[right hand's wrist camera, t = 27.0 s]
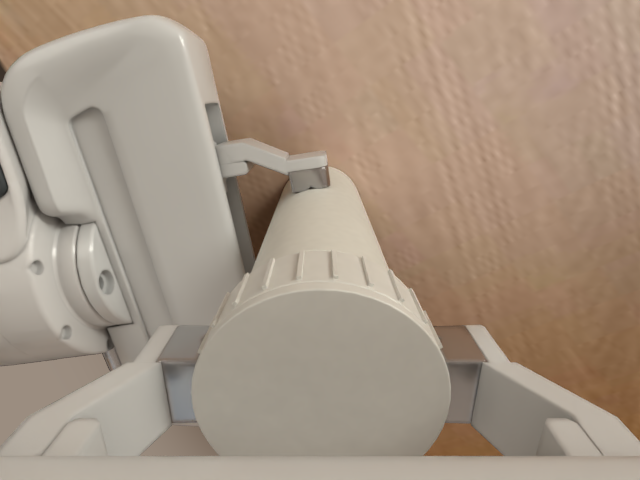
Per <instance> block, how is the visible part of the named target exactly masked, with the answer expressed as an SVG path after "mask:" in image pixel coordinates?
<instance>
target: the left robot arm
mask: <svg viewBox="0 0 640 480" xmlns="http://www.w3.org/2000/svg"><path fill="white" fill-rule="evenodd" d="M255 164H257V165H260V166H263V167H265V168H268V169H271V170H274V171H277V172H279V173H282V174H285V175H289V178H290V183H291V188H292V193H295V192H302V191H307V190H308V189H309V188H310V187H313V188H315V189H322V188H326V187H329V186H330V176H329V169H328V162H327V155H326V151H315V152H309V153H302V154H295V155H289V153H288V152H285V151H283V150H280V149H278V148H275V147H273V146H270V145H268V144H265V143H263V142H260V141H258V140H255V139H253V138H245V139H239V140H232V141H228V137H227V133H226V128H225V124H224V120H223V115H222V111H221V106H220V102H219V98H218V93H217V89H216V85H215V80H214V76H213V72H212V67H211V63H210V58H209V54H208V50H207V46H206V44H205V42H204V41H203V40H202V39H201V38H200V37H199V36H197V35H196V34H195V33H193V32H192V31H191V30H189V29H188V28H187V27H185V26H183V25H182V24H180V23H178V22H177V21H175V20H172V19H170V18H167V17H163V16H158V15H145V16H139V17H133V18H128V19H124V20H119V21H115V22H111V23H107V24H103V25H99V26H96V27H92V28H89V29H86V30H82V31H79V32H76V33H73V34H70V35H67V36H64V37H61V38H59V39H56V40H53V41H51V42H48V43H45V44H43V45H40V46H38V47H36V48H34V49H32V50H30V51H28V52H27V53H25V54H23V55H22V56H21V57H19V58H18V59H17V60H16V61H15V62H14V63H13V64H12V65H11V66H10V68H9V69H8V71H7V73H6V75H5V77H4V80H3V82H0V366H8V365H17V364H25V363H33V362H41V361H48V360H56V359H62V358H70V357H78V356H86V355H94V354H101V353H102V354H103V357H104V359H105V361H106V364H107V366H108V368H109V370H110V371H112V370H114V369H116V368H118V367H120V366H121V365H123V364H125V363H127V362H134V360H135V359H136V357H137V356H138V355H139V353H140V352H141V350H142V349H143V347H144V346H145V345H146V343H147V342H148V340H149V339H150V338H151V336H152V335H153V333H154V332H155V331H156V329H157V328H158V327H159V326H161V325H202V326H210V324H211V322H212V320H213V318H214V316H215V315H216V314H217V311H218V309H219V307H220V305H221V303H222V301H223V299H224V297H225V295H226V293H227V292H229V293H231V292H232V290H233V289H234V288H235V287H236V286H237V284H238V283H239V282H241V281H242V279H243V277H244V275H245V274H246V273H247V272H248V273H249V274H250V273H251V272H252V269H253V266H254V264H255V261H256V259H255V255H254V250H253V246H252V242H251V237H250V233H249V229H248V224H247V220H246V216H245V211H244V207H243V202H242V198H241V194H240V189H239V185H238V181H237V176H240V175H246V174H247V173H248V172H249V171H250V170H251V169H252V168H253V167H254V165H255ZM172 425H179V426H199V425H198V423H172Z"/></svg>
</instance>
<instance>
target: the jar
mask: <svg viewBox="0 0 640 480" xmlns="http://www.w3.org/2000/svg"><path fill="white" fill-rule="evenodd" d="M328 169H329V176H330V186H329V187H326V188H322V189H315V188H313V187H310V188H309V189H308V190H307V191H302V192H295V193H292V188H291V183H290V179H289V181H288V182H287V183H286V185H285V187H284V189H283V192H282V194H281V197H280V199H279V202H278V205H277V207H276V210H275V212H274V215H273V217H272V220H271V223H270V225H269V228H268V230H267V233H266V235H265V238H264V241H263V243H262V246H261V248H260V251H259V253H258V256H257V259H256V261H255V264H254V266H253V269H252V272H253V271H254V270H256V269H257V268H259V267H260V266H262V265H264V264H266V263H268V262H269V261H270V259H272V258H274V259H278V258H280V257H283V256H286V255H290V254H295V253H300V250H304V252H307V251H331V250H332V249H335V250H336V252H342V253H348V254H352V255H355V256H359V257H362V256H365V257H367V260H369V261H372V262H374V263H376V264H378V265H380V266H381V267H383V268H385V269H386V270H389V268H388V266H387V263H386V261H385V258H384V256H383V253H382V251H381V248H380V246H379V243H378V241H377V238H376V236H375V233H374V231H373V228H372V226H371V223H370V221H369V218H368V216H367V213H366V211H365V208H364V206H363V203H362V201H361V198H360V196H359V193H358V191H357V188H356V186H355V185H354V183H353V182H352V180H351V179H350V178H349V177H348V176H347V175H346V174H344V173H343V172H342V171H340V170H338V169H336V168H333V167H329V166H328Z"/></svg>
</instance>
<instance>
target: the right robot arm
mask: <svg viewBox="0 0 640 480" xmlns="http://www.w3.org/2000/svg"><path fill="white" fill-rule="evenodd" d="M209 327H210V326H202V325H161V326H159V327H158V328H157V329H156V331H155V332H154V333H153V335H152V336H151V338H150V339H149V340H148V342H147V343H146V345H145V346H144V347H143V349H142V350H141V352H140V353H139V355H138V356H137V357H136V359H135V360H134V362H127V363H125V364H123V365H121V366H120V367H118V368H116V369H114V370H112V371H110V372H109V373H107V374H105V375H103V376H101V377H99V378H98V379H96V380H94V381H92V382H90V383H88V384H87V385H85V386H83V387H81V388H79V389H77V390H75V391H74V392H72V393H70V394H68V395H66V396H64V397H63V398H61V399H59V400H57V401H55V402H53V403H52V404H50V405H48V406H46V407H44V408H42V409H41V410H39V411H37V412H35V413H33V414H31V415H30V416H28V417H27V418H26V419H25V420H24V421H23V422H22V423H21V424H20V425H19V427H18V428H17V429H16V430H15V431H14V432H13V433H12V434H11V435H10V436H9V438H8V439H7V440H6V441H5V442H4V443H3V444H2V445H1V446H0V480H640V441H639V440H638V439H637V438H636V437H635V436H634V435H633V434H632V433H631V432H630V430H629V429H628V428H627V427H626V426H625V425H624V424H623V423H622V422H621V421H620V420H619V418H618V417H616V416H614V415H612V414H611V413H609V412H607V411H605V410H603V409H601V408H599V407H598V406H596V405H594V404H592V403H590V402H588V401H587V400H585V399H583V398H581V397H579V396H577V395H576V394H574V393H572V392H570V391H568V390H566V389H564V388H563V387H561V386H559V385H557V384H555V383H553V382H552V381H550V380H548V379H546V378H544V377H542V376H540V375H539V374H537V373H535V372H533V371H531V370H529V369H528V368H526V367H524V366H522V365H520V364H518V363H516V362H510V361H509V360H508V358H507V357H506V356H505V354H504V353H503V352H502V350H501V349H500V347H499V346H498V345H497V343H496V342H495V341H494V339H493V338H492V336H491V335H490V334H489V332H488V331H487V330H486V328H485V327H484V326H482V325H462V326H433V327H434V329H435V332H436V334H437V336H438V338H439V340H440V342H441V344H442V346H443V348H441V349H440V351H441V353H442V355H443V357H444V359H445V362H446V365H447V368H448V371H449V376H450V384H451V400H450V406H449V411H448V415H447V418H446V421H445V423H471V425H472V426H473V427H474V428H475V429H476V430H477V431H478V432H479V433H480V434H481V435H482V436H483V437H484V438H486V439H487V440H488V441H489V442H490V443H491V444H492V445H493V446H494V447H495V448H496V449H497V450H498V451H500V452H501V453H502V454H503V455H504V456H140V455H141V454H142V453H143V452H144V451H145V450H146V449H147V448H148V447H149V446H150V445H151V444H153V443H154V442H155V441H156V440H157V439H158V438H159V437H160V436H161V435H162V434H163V433H164V432H165V431H166V430H168V429H169V428H170V427H171V426H172V423H197V421H196V417H195V414H194V410H193V406H192V396H191V387H192V377H193V373H194V369H195V365H196V362H197V360H198V358H199V355H200V354H199V353H198V349H199V347H200V345H201V343H202V341H203V339H204V337H205V335H206V333H207V331H208V329H209Z"/></svg>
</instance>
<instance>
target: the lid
mask: <svg viewBox="0 0 640 480" xmlns="http://www.w3.org/2000/svg"><path fill="white" fill-rule="evenodd" d="M441 348H443V346H442V344H441V342H440V340H439V338H438V336H437V334H436V332H435V329H434V327H433V325H432V323H431V321H430V319H429V317H428V315H427V313H426V311H425V310H424V311H423V310H422V308H421V305H420V303H419V301H418V299H417V297H416V295H415V293H414V291H413V289H412V288H410V289H408V288H407V287H406V286H405V285H404V284H403V283H402V282H401V280H400V279H398V278H397V277H396V276H395V275H394V272H393V271H392V270H391V269H389V270H386V269H385V268H383V267H381V266H380V265H378V264H376V263H374V262H372V261H369V260H367V257H365V256H362V257H359V256H355V255H352V254H348V253H342V252H336V250H335V249H332V250H331V251H307V252H304V250H300V253H295V254H290V255H286V256H283V257H280V258H278V259H274V258H272V259H270V261H269V262H268V263H266V264H264V265H262V266H260V267H259V268H257V269H256V270H254V271H253V272H251V273H250V274H249V273H248V272H247V273H246V274H245V275H244V277H243V279H242V281H241V282H239V283H238V284H237V286H236V287H235V288H234V289H233V290H232V292H231V293H229V292H227V293H226V295H225V297H224V299H223V301H222V303H221V305H220V307H219V309H218V311H217V314H216V315H215V316H214V318H213V320H212V322H211V324H210V327H209V329H208V331H207V333H206V335H205V337H204V339H203V341H202V343H201V345H200V347H199V349H198V353H199V354H200V355H199V358H198V360H197V362H196V365H195V369H194V373H193V377H192V387H191V396H192V406H193V410H194V414H195V417H196V421H197V423H198V425H199V427H200V430H201V432H202V434H203V435H204V437H205V438H206V440H207V442H208V443H209V444H210V446H211V447H212V448H213V449H214V450H215V452H216V453H217V454H218V455H219V456H423V455H424V454H425V453H426V452H427V451H428V450H429V449H430V447H431V446H432V445H433V443H434V442H435V441H436V439H437V437H438V436H439V434H440V432H441V430H442V428H443V426H444V424H445V421H446V418H447V415H448V411H449V406H450V400H451V384H450V376H449V371H448V368H447V365H446V362H445V359H444V357H443V355H442V353H441V351H440V349H441Z"/></svg>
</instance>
